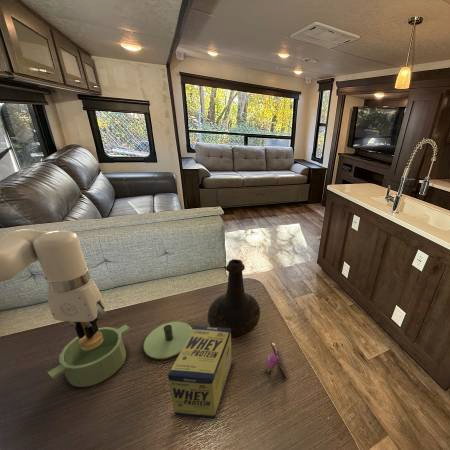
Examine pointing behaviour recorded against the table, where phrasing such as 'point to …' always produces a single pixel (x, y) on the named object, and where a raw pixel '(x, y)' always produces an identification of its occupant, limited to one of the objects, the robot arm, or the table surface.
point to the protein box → (201, 372)
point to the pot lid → (167, 340)
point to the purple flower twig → (274, 360)
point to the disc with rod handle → (90, 340)
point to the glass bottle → (235, 305)
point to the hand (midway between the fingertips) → (88, 334)
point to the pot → (92, 359)
